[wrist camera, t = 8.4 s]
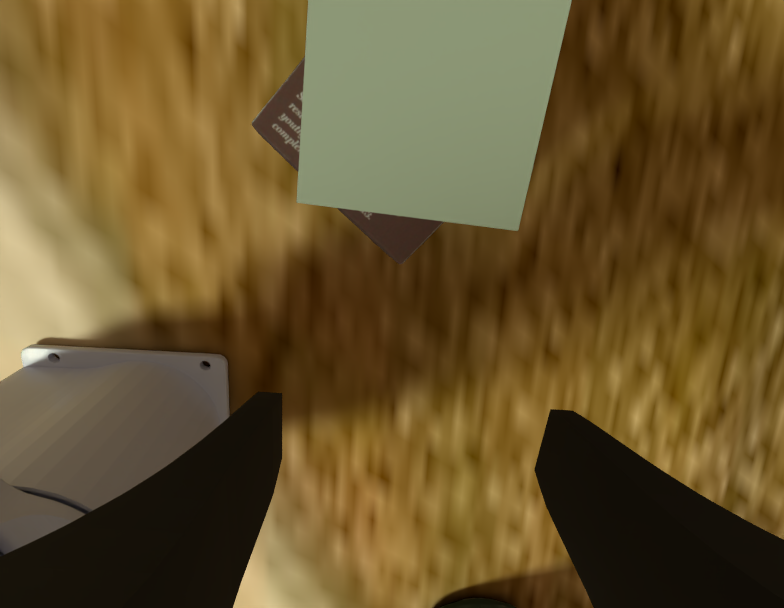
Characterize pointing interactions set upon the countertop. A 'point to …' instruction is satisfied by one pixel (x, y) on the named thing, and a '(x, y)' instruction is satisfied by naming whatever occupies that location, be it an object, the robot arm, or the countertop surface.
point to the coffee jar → (478, 604)
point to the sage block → (426, 105)
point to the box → (385, 230)
